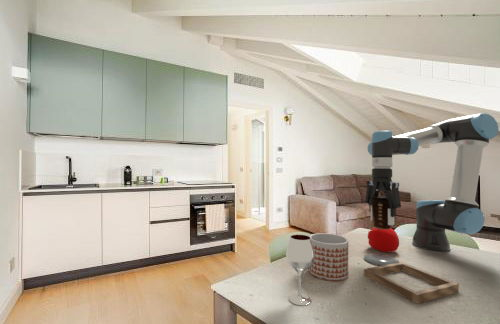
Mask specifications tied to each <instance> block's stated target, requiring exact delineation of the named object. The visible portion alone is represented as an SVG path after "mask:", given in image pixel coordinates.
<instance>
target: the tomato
mask: <svg viewBox="0 0 500 324" xmlns="http://www.w3.org/2000/svg"><path fill="white" fill-rule="evenodd" d="M367 239H368V245H369V246H370V247H371V248H372V249H374V250H377V251H379V252H383V253H393V252H396V251H397V250H398V249H399V246H400V238H399V236H398V234H397V232H396V231H395V230H394V229H393V228H392V227H390V229H377V228H374V227H372V229H371V230H368V233H367Z"/></svg>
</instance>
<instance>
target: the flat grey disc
mask: <svg viewBox="0 0 500 324" xmlns="http://www.w3.org/2000/svg"><path fill="white" fill-rule="evenodd" d="M363 259H364V261H366V262H367V263H370V264H371V265H373V266H374V265H375V266H383V265H388V264H394V263H399V262H400V261H399V260H398V259H396V258H395V257H392V256H390V255H389V256H388V255H385V254H380V253H379V254H378V253H368V254H364V256H363Z"/></svg>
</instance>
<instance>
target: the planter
mask: <svg viewBox="0 0 500 324" xmlns="http://www.w3.org/2000/svg"><path fill="white" fill-rule="evenodd" d="M308 236H309V237H310V238H311V242H312V246H313V250H314V255H315V260H314V263H313V265H312V266H311V267H310V268H309V269H308V272H309V273H310V274H311V275H312V276H313V277H314V278H317V279H320V280H324V281H329V282H340V281H345V280H346V279H347V278H348V277H349V238H347V237H345V236H343V235H339V234H335V233H326V232H325V233H324V232H318V233H312V234H310V235H308Z"/></svg>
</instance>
